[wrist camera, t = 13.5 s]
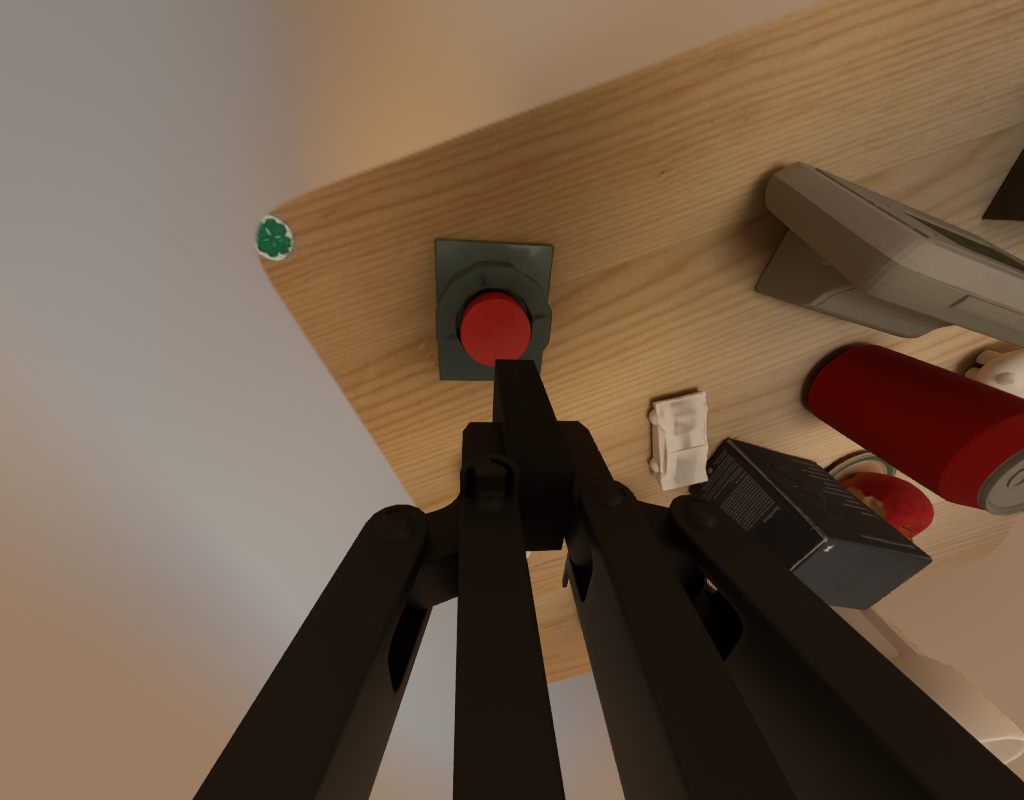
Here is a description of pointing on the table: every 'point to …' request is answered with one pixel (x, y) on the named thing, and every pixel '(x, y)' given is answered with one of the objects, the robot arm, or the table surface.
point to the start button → (494, 328)
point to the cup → (939, 683)
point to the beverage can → (928, 425)
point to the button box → (485, 270)
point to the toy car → (679, 440)
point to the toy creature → (1000, 371)
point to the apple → (885, 493)
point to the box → (811, 524)
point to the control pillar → (1010, 196)
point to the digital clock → (886, 262)
